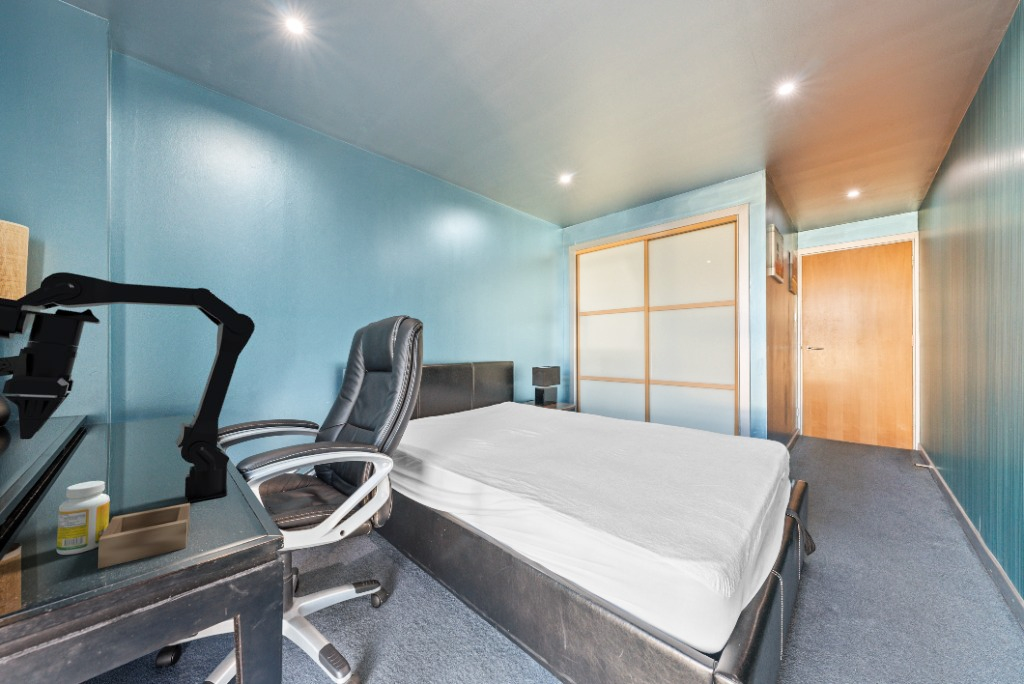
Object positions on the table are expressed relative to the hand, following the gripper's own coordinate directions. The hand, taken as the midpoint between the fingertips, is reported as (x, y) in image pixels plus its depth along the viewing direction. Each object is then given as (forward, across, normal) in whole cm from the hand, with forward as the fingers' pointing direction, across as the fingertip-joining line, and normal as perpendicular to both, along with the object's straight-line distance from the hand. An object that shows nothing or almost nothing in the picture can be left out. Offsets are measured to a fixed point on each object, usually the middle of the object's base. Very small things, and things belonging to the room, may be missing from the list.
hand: (29, 435), depth 64 cm
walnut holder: (+15, +20, +16) cm, 29 cm away
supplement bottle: (+16, +13, +9) cm, 22 cm away
